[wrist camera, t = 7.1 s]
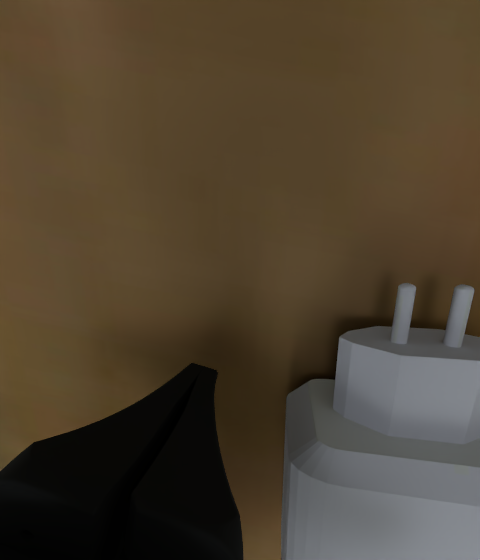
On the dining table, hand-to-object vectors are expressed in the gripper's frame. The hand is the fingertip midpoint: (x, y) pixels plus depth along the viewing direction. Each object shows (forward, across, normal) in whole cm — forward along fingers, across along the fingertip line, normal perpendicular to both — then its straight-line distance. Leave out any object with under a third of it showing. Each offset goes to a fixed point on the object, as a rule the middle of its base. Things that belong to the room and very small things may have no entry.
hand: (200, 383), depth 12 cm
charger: (+2, -9, 0) cm, 9 cm away
